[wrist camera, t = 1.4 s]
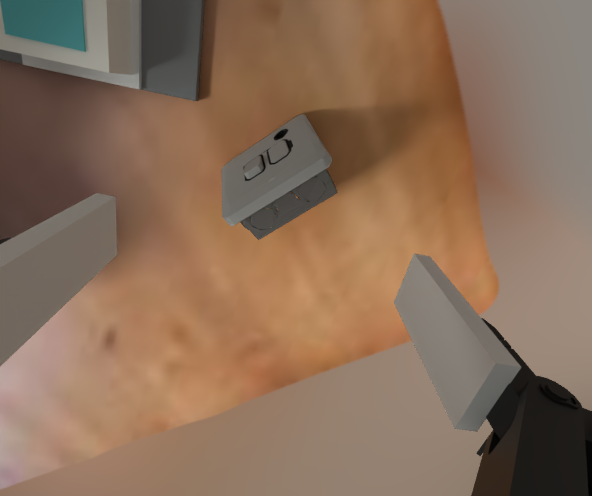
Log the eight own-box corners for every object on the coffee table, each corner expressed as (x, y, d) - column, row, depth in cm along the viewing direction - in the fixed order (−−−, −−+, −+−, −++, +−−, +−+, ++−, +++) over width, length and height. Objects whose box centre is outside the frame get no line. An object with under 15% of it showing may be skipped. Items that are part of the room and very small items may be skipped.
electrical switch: (303, 110, 30) (317, 131, 22) (330, 158, 32) (351, 192, 24) (221, 165, 32) (206, 203, 24) (252, 206, 34) (248, 253, 26)
